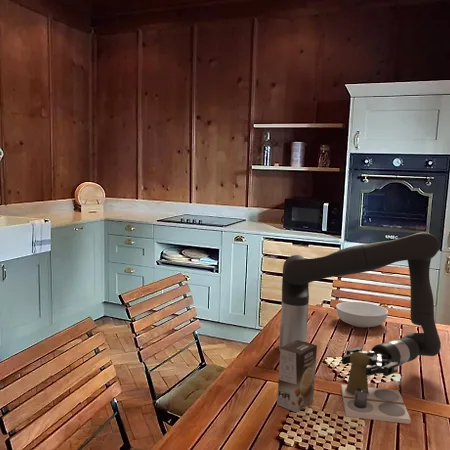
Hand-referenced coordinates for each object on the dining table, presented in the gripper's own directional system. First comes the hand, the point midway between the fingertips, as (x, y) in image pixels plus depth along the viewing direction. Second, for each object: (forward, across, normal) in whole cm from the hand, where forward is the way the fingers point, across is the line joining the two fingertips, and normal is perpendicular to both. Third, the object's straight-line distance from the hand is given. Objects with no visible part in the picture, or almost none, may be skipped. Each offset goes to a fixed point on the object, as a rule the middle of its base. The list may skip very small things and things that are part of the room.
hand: (354, 366), depth 132 cm
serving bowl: (-54, -41, +10) cm, 69 cm away
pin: (+4, +6, +8) cm, 10 cm away
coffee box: (+16, -6, +10) cm, 20 cm away
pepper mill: (-2, 0, +8) cm, 8 cm away
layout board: (-2, +6, +9) cm, 11 cm away
